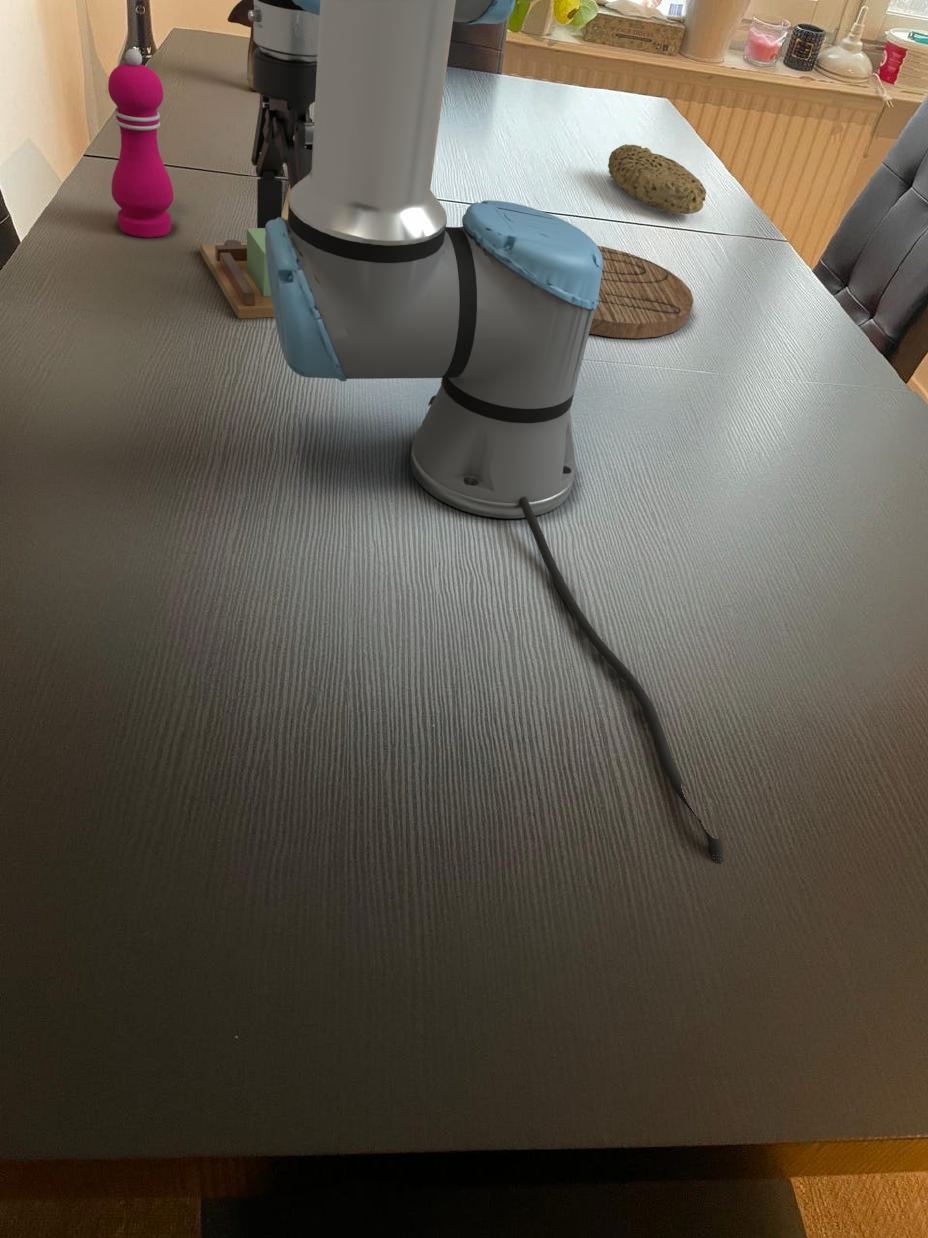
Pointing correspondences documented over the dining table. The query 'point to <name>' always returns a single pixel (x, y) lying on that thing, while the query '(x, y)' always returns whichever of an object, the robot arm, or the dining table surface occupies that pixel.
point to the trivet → (638, 298)
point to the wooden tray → (236, 279)
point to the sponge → (656, 180)
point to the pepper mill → (139, 151)
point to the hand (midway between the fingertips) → (285, 260)
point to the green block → (258, 259)
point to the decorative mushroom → (241, 17)
